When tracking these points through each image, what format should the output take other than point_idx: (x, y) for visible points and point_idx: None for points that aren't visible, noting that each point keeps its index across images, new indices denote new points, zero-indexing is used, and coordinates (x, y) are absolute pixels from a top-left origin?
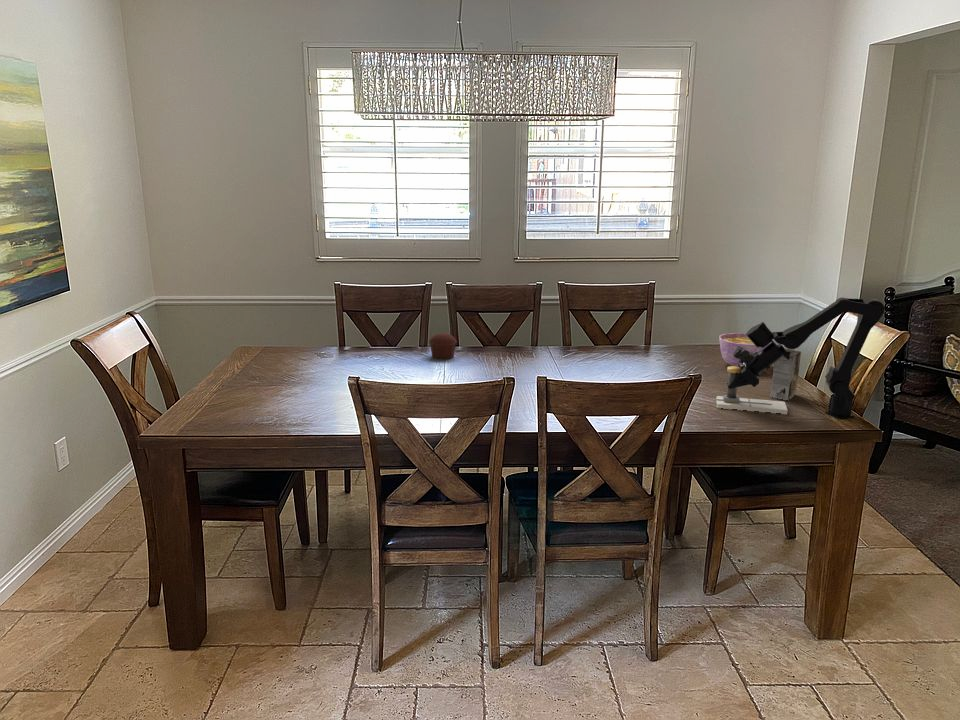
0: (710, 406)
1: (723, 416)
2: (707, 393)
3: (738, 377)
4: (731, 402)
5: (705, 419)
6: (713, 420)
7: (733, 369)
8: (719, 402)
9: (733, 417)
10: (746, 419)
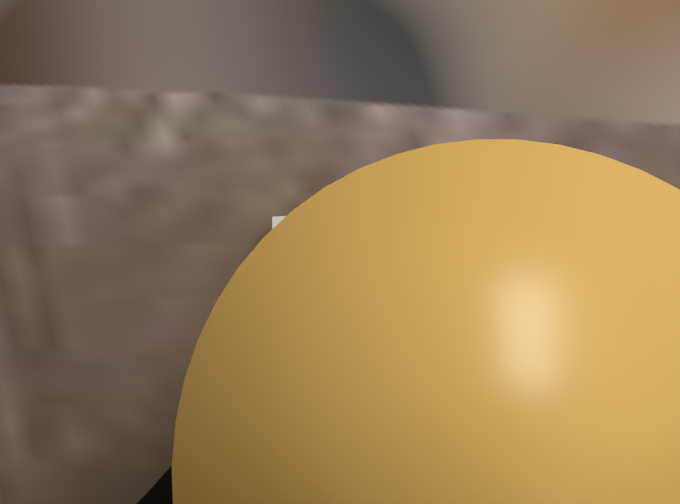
0: (307, 179)
1: (115, 269)
2: (630, 145)
3: (156, 495)
4: None
5: (31, 159)
6: (22, 207)
7: (196, 408)
8: None
9: (111, 336)
10: (90, 426)
